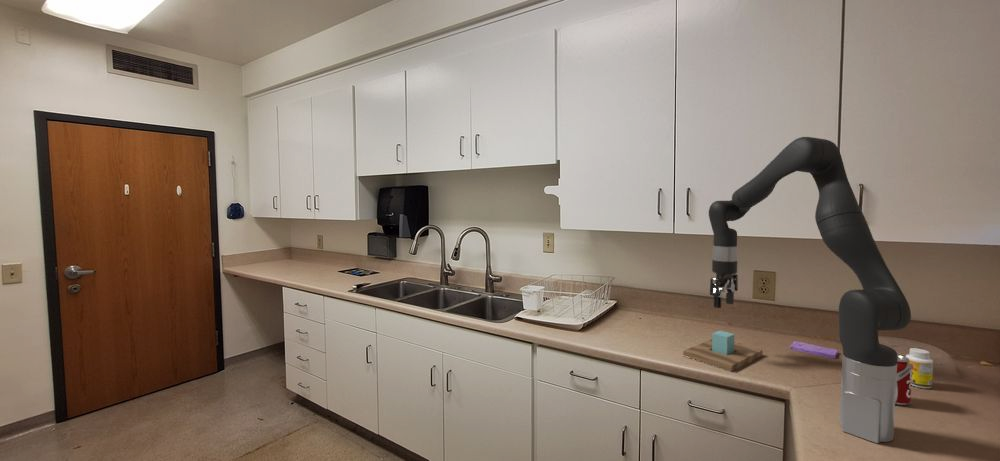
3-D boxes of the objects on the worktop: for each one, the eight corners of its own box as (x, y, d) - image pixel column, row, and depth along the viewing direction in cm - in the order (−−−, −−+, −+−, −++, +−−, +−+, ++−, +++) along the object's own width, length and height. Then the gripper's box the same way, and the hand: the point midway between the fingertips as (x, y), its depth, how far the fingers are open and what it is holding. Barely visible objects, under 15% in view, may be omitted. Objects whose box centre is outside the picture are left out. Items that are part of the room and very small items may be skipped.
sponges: (794, 345, 149) (794, 340, 149) (838, 354, 139) (838, 349, 139) (789, 350, 144) (789, 345, 144) (834, 360, 135) (834, 354, 135)
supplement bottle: (899, 379, 119) (901, 345, 118) (924, 382, 117) (926, 348, 116) (910, 387, 114) (912, 352, 113) (936, 390, 111) (938, 355, 111)
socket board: (731, 371, 126) (731, 365, 126) (683, 356, 139) (683, 350, 139) (762, 355, 138) (762, 350, 138) (715, 342, 151) (715, 337, 151)
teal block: (726, 360, 135) (727, 337, 134) (711, 355, 139) (712, 333, 138) (733, 356, 138) (734, 334, 137) (719, 352, 142) (719, 330, 141)
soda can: (873, 392, 111) (875, 350, 110) (908, 399, 107) (910, 355, 106) (875, 401, 106) (878, 357, 105) (912, 409, 102) (914, 363, 101)
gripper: (725, 262, 129) (724, 311, 130) (746, 258, 137) (745, 304, 138) (702, 259, 135) (702, 306, 136) (723, 256, 143) (722, 300, 144)
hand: (723, 305), depth 137 cm, fingers open, 8 cm apart
